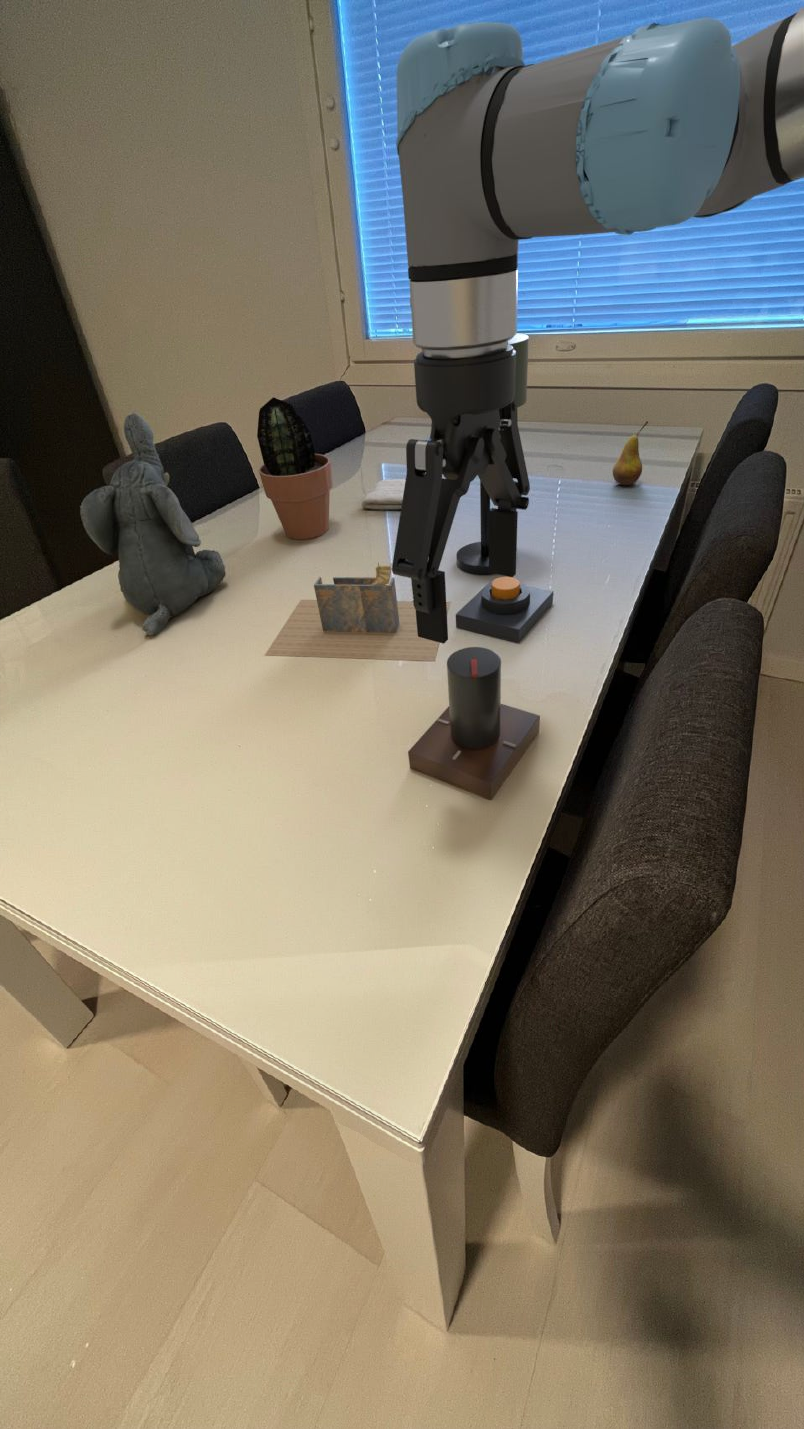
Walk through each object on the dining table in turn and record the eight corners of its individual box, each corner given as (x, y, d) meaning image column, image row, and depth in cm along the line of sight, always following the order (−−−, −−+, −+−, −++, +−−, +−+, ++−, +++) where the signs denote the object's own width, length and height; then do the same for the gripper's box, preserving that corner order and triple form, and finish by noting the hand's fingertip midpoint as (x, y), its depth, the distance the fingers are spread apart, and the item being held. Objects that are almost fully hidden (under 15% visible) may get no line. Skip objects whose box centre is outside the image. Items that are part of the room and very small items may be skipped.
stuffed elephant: (188, 562, 116) (136, 409, 99) (251, 591, 104) (204, 422, 87) (94, 603, 106) (17, 440, 89) (151, 640, 94) (75, 460, 77)
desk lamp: (532, 553, 105) (542, 332, 84) (501, 583, 98) (504, 348, 77) (471, 543, 111) (467, 333, 90) (438, 570, 103) (425, 348, 83)
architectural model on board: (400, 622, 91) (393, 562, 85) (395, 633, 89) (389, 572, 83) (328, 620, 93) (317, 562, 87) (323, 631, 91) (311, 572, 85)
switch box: (552, 604, 91) (554, 580, 89) (518, 643, 84) (519, 618, 81) (493, 591, 96) (493, 568, 93) (455, 627, 88) (454, 603, 86)
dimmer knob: (450, 717, 69) (446, 645, 62) (498, 716, 68) (499, 643, 62) (450, 750, 64) (446, 675, 58) (501, 748, 64) (503, 673, 58)
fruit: (617, 478, 130) (625, 417, 122) (644, 481, 126) (653, 420, 119) (606, 486, 126) (613, 425, 119) (633, 490, 123) (642, 427, 116)
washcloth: (442, 512, 123) (441, 497, 122) (360, 511, 128) (358, 496, 126) (454, 492, 132) (454, 477, 130) (377, 491, 137) (376, 477, 135)
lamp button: (524, 590, 88) (524, 579, 87) (512, 602, 85) (512, 591, 84) (499, 585, 90) (499, 574, 89) (486, 597, 87) (486, 586, 86)
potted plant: (351, 532, 120) (330, 393, 104) (287, 551, 116) (255, 409, 100) (325, 512, 130) (302, 383, 114) (265, 529, 125) (233, 397, 110)
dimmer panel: (539, 732, 69) (540, 714, 67) (491, 800, 62) (491, 782, 60) (462, 707, 74) (461, 690, 72) (409, 768, 66) (407, 750, 65)
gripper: (495, 320, 54) (494, 546, 67) (316, 384, 38) (361, 660, 52) (577, 318, 50) (558, 557, 63) (415, 388, 35) (435, 683, 48)
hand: (470, 603), depth 58 cm, fingers open, 13 cm apart
